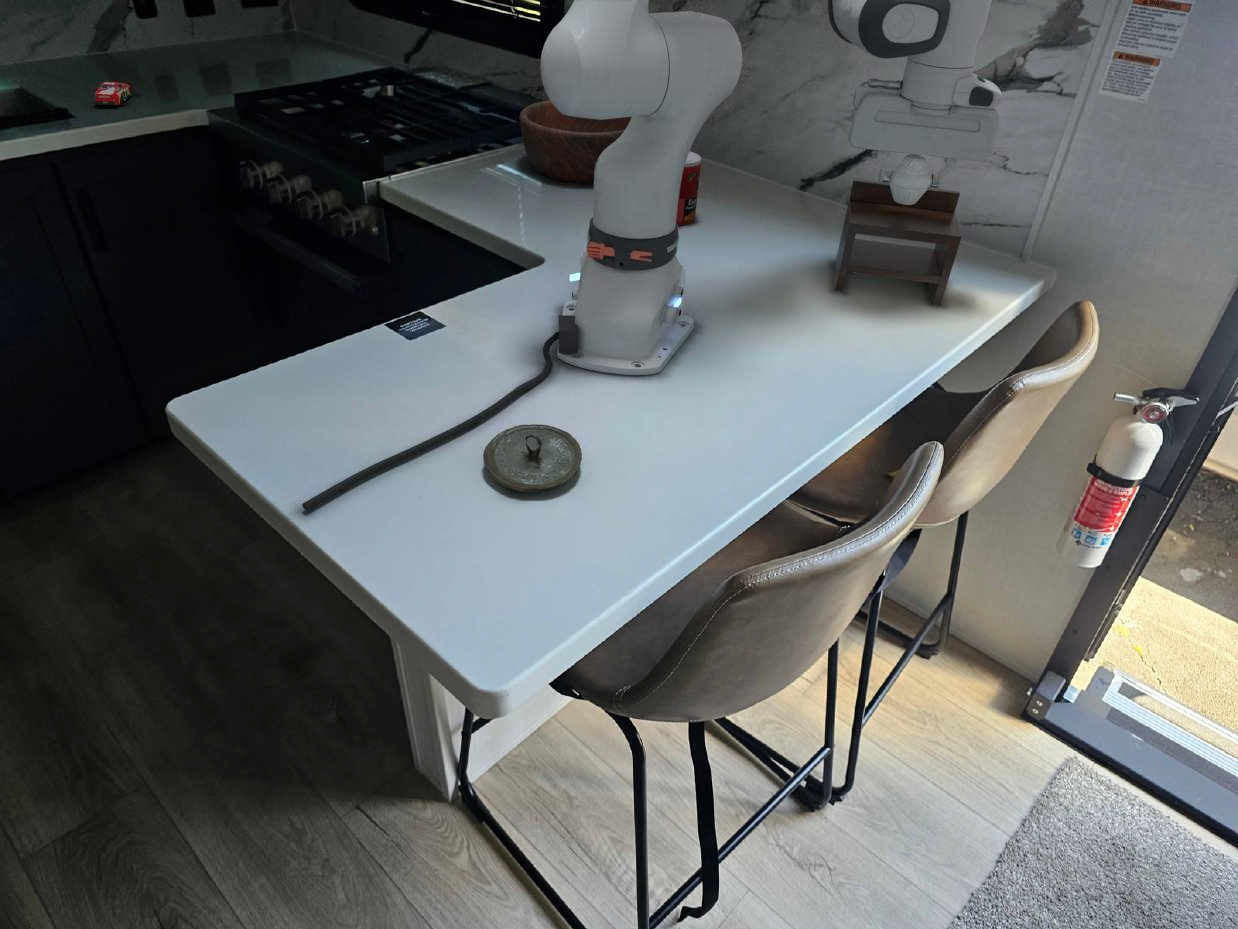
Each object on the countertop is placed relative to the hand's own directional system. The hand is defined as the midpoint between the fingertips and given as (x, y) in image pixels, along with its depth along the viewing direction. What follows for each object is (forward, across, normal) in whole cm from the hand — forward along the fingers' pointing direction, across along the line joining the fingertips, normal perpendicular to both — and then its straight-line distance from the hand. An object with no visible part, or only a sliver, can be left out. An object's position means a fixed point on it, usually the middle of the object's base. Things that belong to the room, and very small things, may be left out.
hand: (909, 183), depth 126 cm
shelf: (+16, 0, 0) cm, 16 cm away
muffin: (+3, 0, 0) cm, 3 cm away
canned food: (+16, -36, +17) cm, 43 cm away
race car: (+15, -169, +47) cm, 176 cm away
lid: (+16, -40, -61) cm, 75 cm away
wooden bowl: (+16, -58, +38) cm, 71 cm away
